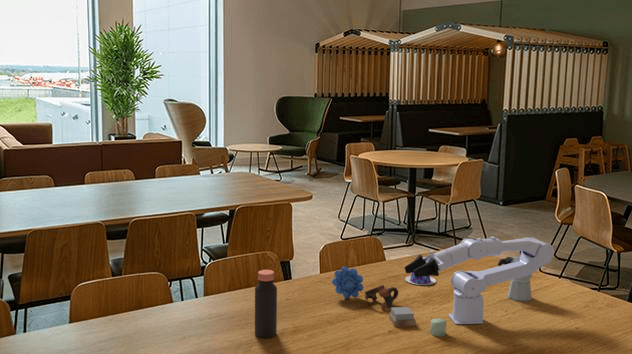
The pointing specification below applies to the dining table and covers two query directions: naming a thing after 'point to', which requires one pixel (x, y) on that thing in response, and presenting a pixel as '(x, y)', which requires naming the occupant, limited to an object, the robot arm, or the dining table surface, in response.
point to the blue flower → (348, 282)
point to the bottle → (265, 305)
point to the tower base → (401, 322)
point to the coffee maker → (518, 283)
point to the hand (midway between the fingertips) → (409, 272)
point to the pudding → (420, 280)
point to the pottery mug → (383, 295)
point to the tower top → (402, 313)
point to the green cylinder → (438, 327)
